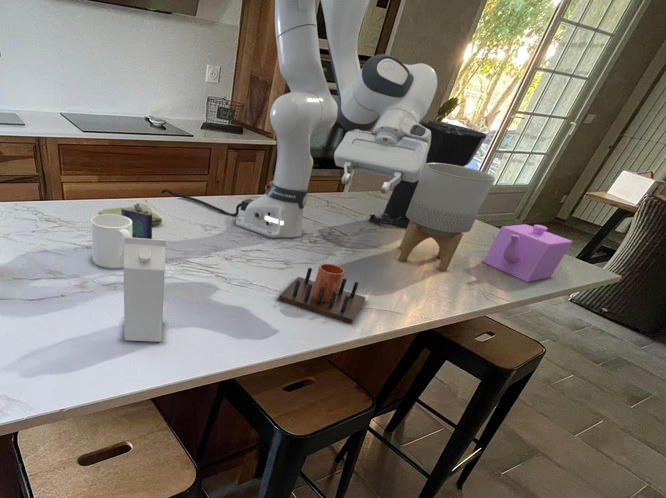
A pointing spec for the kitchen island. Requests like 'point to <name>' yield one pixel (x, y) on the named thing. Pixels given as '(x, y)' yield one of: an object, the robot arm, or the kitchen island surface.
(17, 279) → the kitchen island surface
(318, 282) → the cup
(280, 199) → the robot arm
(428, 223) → the planter
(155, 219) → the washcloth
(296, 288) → the rack
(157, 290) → the milk carton
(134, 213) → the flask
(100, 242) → the mug
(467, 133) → the coffee maker
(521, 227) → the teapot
